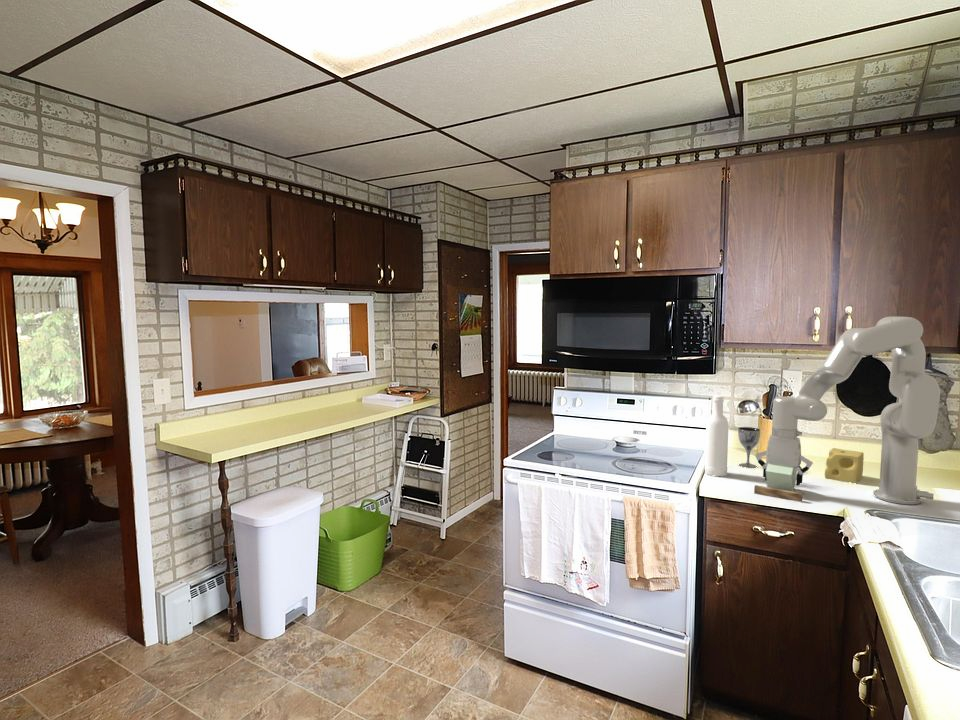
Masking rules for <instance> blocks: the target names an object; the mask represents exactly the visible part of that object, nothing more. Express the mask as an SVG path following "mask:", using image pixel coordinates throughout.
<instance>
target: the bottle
mask: <svg viewBox="0 0 960 720" xmlns="http://www.w3.org/2000/svg"><path fill="white" fill-rule="evenodd" d="M705 427H706V428H705V452H704V453H705V458H704V459H705V460H704V473H705V474H706V475H708V474H710V475H709V476H711V475H715V476H714V477H718V476H721V477H725V475H726V476H727V475H728V450H729V449H728V447H729V422H728V419H727V417H726V416H725V415H724V396H723V395H719V394H718V395H713V396H712V414H711V415H709V416H708V417H707V419H706V425H705Z"/></svg>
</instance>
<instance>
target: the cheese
mask: <svg viewBox="0 0 960 720" xmlns="http://www.w3.org/2000/svg"><path fill="white" fill-rule="evenodd" d="M864 458H865V457H864V452H862V451H856V450H848V449H841V448H835V447H833V448H831V449H830V450H829V451H828V457H827V458H826V461H825V466H826V468H825V470H824V478H825V479H826V480H827V479H829V480H834V481H840V482H844V481H845V483H849V482H851V483H850V484H854V483H856V484H857V483H859V481H861V479H862V478H863V474H864V473H863V472H864V471H863V470H864Z"/></svg>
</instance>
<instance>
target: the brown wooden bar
mask: <svg viewBox="0 0 960 720" xmlns="http://www.w3.org/2000/svg"><path fill="white" fill-rule="evenodd" d="M753 493H754V494H756V495H761V496H766V497H771V498H777V499H781V500H782V499H783V500H787V501H793V502H798V503H802V502H803V493H802V492H797V491H796V492H792V491H787V490H781V489H775V488H769V487H767V486H763V485H757V484H754V492H753Z"/></svg>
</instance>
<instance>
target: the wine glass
mask: <svg viewBox="0 0 960 720" xmlns="http://www.w3.org/2000/svg"><path fill="white" fill-rule="evenodd" d="M737 431H738V432H737V433H738V434H737V436H738V441H739V443H740V445H741V446H742V447H743V448H744V449H745V452H746V462H741V464H740V463H738V464H739V465H738V467H741V466H742V467H741V468H744V467H746V468H745V469H757V468H758V467H757V466H758V465H757V464H755V463H751V462H750V457H751V453H752V450H753V449H755V447H757V445H758V444H759V442H760V438H761V429H760V428H757V427H751V426H741V427H738V430H737ZM756 465H757V466H756ZM756 467H757V468H756Z"/></svg>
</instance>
